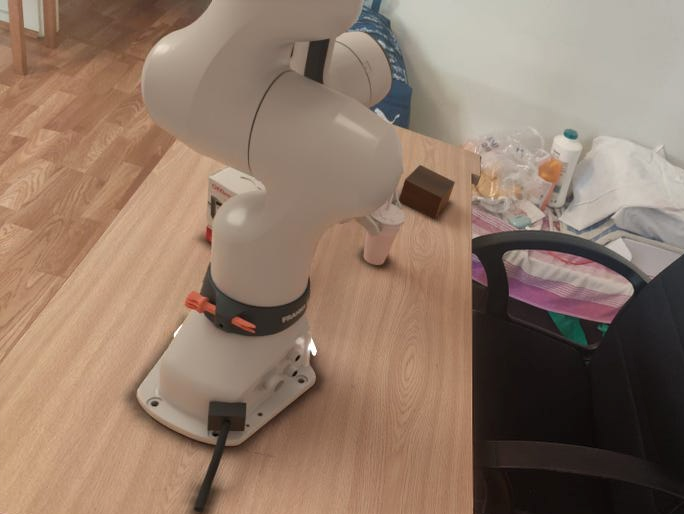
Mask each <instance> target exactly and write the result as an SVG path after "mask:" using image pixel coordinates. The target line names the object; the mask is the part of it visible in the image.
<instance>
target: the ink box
mask: <svg viewBox="0 0 684 514" xmlns="http://www.w3.org/2000/svg"><path fill="white" fill-rule="evenodd" d="M207 182H208V183H207V203H206V207H207V208H206V229H205V240H206V241H207V242H209V243H210V244H212V223H213V219H214V217H215V215H216V213H217V211H218V209H219V208H220V207H221V206H222V204H223V203H225V202H226V201H227V200H228V199H230V198H232V197H234V196H236V195H239V194H242V193H246V192H250V191H256V190H266V189H265V187H264V185H263V184H262V183H261V182H260V181H258V180H256V179H255V178H254V177H251V176H249V175H247V174H245V173H242V172H240V171H238V170H236V169H233V168H231V167H229V166H226V167H224V168H222V169H220V170H218V171H215V172H213V173H212V174H210V175H208V180H207Z"/></svg>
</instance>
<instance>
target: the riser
mask: <svg viewBox="0 0 684 514" xmlns="http://www.w3.org/2000/svg"><path fill="white" fill-rule="evenodd" d="M455 183H456V182H455V181H454V180H452V179H450V178H448V177H445V176H444V175H442V174H439V173H437V172H435V170H431V169H430V168H428V167H426V166H423V165H422V164H419V165H418V166H417V167H416V168H415V169H414V170H413V171H412V172H411V173H410V174H409V175H408V176H407V177H406V178H405V179H404V181H403V184H402V188H401V192H400V195H399V199H398V200H399V202H400V203H402V204H404V205H406V206H407V207H409V208H412V209H413V210H416V211H418V212H419V213H422V214H424V215H426V216H427V217H430V218H432V219H434V220H435V219H436V218H437V217H438V216H439V214H440V213H441V212H442V210H444V208H445V207H446V206H447V205H448V203H449V200H450V198H451V195H452V192H453V189H454V187H455Z"/></svg>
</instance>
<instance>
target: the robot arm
mask: <svg viewBox="0 0 684 514" xmlns="http://www.w3.org/2000/svg"><path fill="white" fill-rule="evenodd" d="M364 3H365V0H212V1H211V2H210V4H209V5H208V7H207V8H206V10H204V11H203V13H202V14H201V15H200V16H198V18H197V19H196V20H195V21H193V22H192V23H190V24H189V25H187V26H186V27H183V28H181V29H177V30H174V31H171V32H170V33H168V34H167V35H164V36H162V38H161V39H159V40H158V41H157V42H156V43H155V44H154V45H153V47H152V48H151V49H150V51H149V52H148V53H147V56H146V58H145V60H144V62H143V65H142V69H141V74H140V90H141V97H142V101H143V105H144V107H145V110H146V112H147V115H148V117H149V118H150V120H151V121H152V122H153V123H154V124H155V125H156V126H157V127H159V128H160V129H161V130H162V131H165V132H166V133H167V134H168V135H170V136H171V137H173V138H174V139H176V140H177V141H179V142H180V143H182V145H184V146H186V147H187V148H189V149H191V150H192V151H194V152H195V153H197V154H199V155H201V156H204V157H206V158H209V159H210V160H213V161H215V162H217V163H220V164H222V165H224V166H226V167H228V166H229V167H231V168H233V169H236V170H238V171H240V172H242V173H245V174H247V175H249V176H250V177H252V178H254V179H256V180H257V181H259V182H260V183H262V184H263V185H264V187H265V189H266V190H256V191H250V192H246V193H242V194H239V195H236V196H234V197H232V198H230V199H228V200H227V201H226V202H225V203H223V204H222V206H221V207H220V208H219V209H218V211H217V213H216V215H215V217H214V219H213V223H212V243H211V245H210V246H211V248H210V249H211V250H210V262H209V263H208V265H207V268H206V271H205V273H204V276H203V278H202V282H201V283H202V285H201V288H200V292H197V291H195V290H193V291H191V292H189V294H188V295H187V296H186V298H185V299H184V307H186V308H188V309H190V311H189V313H188V314H187V315H186V317H185V319H184V321H183V322H182V324H181V325H180V326H179V327H178V329H177V330H176V331H175V332H174V334H173V338H172V340H171V341H170V343H169V345H168V346H167V348H166V350H165V351H164V352H163V354H162V355H161V357H159V359H158V360H157V362H156V363H155V364H154V366H153V367H152V369H151V370H150V371H149V373H148V374H147V376H146V377H145V379H144V380H143V381H142V382H141V383H140V385H139V386H138V388H137V390H136V400H137V402H138V404H140V406H141V408H142V409H143V410H144V411H145V412H146V413H147V414H148V415H149V416H150V417H151V418H153V419H154V420H155V421H157V422H158V423H160V424H161V425H163V426H165V427H167V428H168V429H170V430H172V431H174V432H175V433H178V434H180V435H183V436H185V437H187V438H189V439H191V440H195V441H198V442H202V443H204V444H207V445H208V444H209V445H214V450H213V453H212V457H211V459H210V462H209V465H208V468H207V470H206V473H205V476H204V479H203V481H202V483H201V487H200V489H199V492H198V495H197V498H196V500H195V504H194V506H193V510H194V512H199V513H201V512H203V511H204V510H205V505H206V503H207V499H208V496H209V494H210V491H211V487H212V484H213V481H214V479H215V476H216V475H217V472H218V470H219V469H218V468H219V466H220V464H221V463H220V462H221V460H222V457H223V454H224V450H225V447H236V446H240V445H241V444H243V443H244V442H245V441H246V440H248V439H249V438H250V437H252V436H253V435H254V434H255V433H256V432H257V431H259V430H260V429H261V428H262V427H264V426H265V425H266V424H267V423H268V422H270V421H271V420H273V418H275V417H276V416H277V415H279V414H280V413H281V412H282V411H283V410H285V409H286V408H287V407H288V406H289V405H291V404H292V403H293V402H295V401H296V400H297V399H298V398H299V397H301V396H302V395H303V394H305V392H306V391H308V390H309V389H311V388H312V387H313V386H314V385H315V383H316V378H317V377H316V373H315V371H314V369H313V367H312V365H311V364H310V360H311V354H312V355H313V356H316V354H317V348H316V345H315V343H314V341H313V339H312V338H313V333H312V329H311V326H310V323H309V321H308V316H307V314H306V311H307V308H308V305H309V301H310V298H311V292H312V291H311V290H312V289H311V283H312V282H311V277H310V273H311V269H312V263H313V260H314V256H315V254H316V250H317V246H318V245H319V243H320V240H321V238H322V237H323V236H324V234H326V232H327V231H328V230H330V229H331V228H332V227H333V226H335V225H337V224H339V225H344V224H346V223H350V222H352V221H354V220H355V222H356V223H358V224H359V225H360V226H362V227H363V228H365V230H366V229H367V231H368V233H369V235H370V236H372V237H373V236H376V235H378V234H379V233H380V232H381V231H382V227H381V226H380V224H379V222H378V221H376V222H375V221H374V220H373V219H372V218H371V217H370V216H369V215H370V213H372V212H374V211H376V210H377V209H379V208H380V207H381V206H383V205H384V204H385V203H386V202H388V200H389V198H390V197H391V196H392V194H393V193H394V195H393V199H392V202H391V204H394V205H395V206H397V207H399V208H400V209H401V210H403V206H402V204H401V203H402V202H400V201H399V199H400V197H399V192H398V185H399V184H400V181H401V178H402V175H403V174H404V153H403V146H402V142H401V138H400V136H399V134H398V131H397V129H396V128H395V126H393V125H392V124H390V123H389V122H388V121H387V120H385V119H383V118H382V116H380V115H379V114H377V113H376V112H375V111H373V110H371V108H372V107H374V106H376V105H377V104H379V103H380V102H381V101H382V100H383V99H385V98H386V96H387V95H389V94H390V93H391V90H392V87H393V83H394V82H393V81H394V73H393V67H392V63H391V60H390V58H389V55H388V53H387V51H386V50H385V48H384V47H383V45H382V44H381V43H380V41H379V40H378V39H376V38H375V37H374V36H373V35H371V34H370V33H367V32H366V31H362V30H355V31H349V30H351V28H352V27H353V26H354V25H355V24H356V23H357V22H358V19H359V17H360V16H361V14H362V11H363V7H364ZM155 405H156V406H155ZM215 435H217V436H215Z"/></svg>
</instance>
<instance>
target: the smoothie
mask: <svg viewBox="0 0 684 514" xmlns="http://www.w3.org/2000/svg"><path fill="white" fill-rule="evenodd" d="M393 195H394V193H393V194H392V196H391V197H390V198H389V200H388V201H387V202H386V203H385V204H384V205H383V206H381V207H380V208H379V209H377V210H376V211H374V212H372V213H370V215H369V216H370V217H371V218H372V219H373V220H374V221H375V222H376V221H378V222H379V224H380V226H381V227H382V231H381V232H380V233H379V234H378V235H376V236H373V237H372V236H370V235H369V233H368V231H367V229H366V228H365V236H364V238H365V239H364V249H363V260H364V261H366V262H367V263H368V264H370V265H373V266H381V265H384V263H385V262H386V259H387V256H388V255H389V253H390V250H391V248H392V246H393V244H394V242H395V240H396V237H397V235H398V233H399V232H400V229H401V228H402V227H403V226H404V224H405V221H406V214H405V213H404V211H403V209H400V208H399V207H397V206H395V205H394V204H391V202H392V199H393Z"/></svg>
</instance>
